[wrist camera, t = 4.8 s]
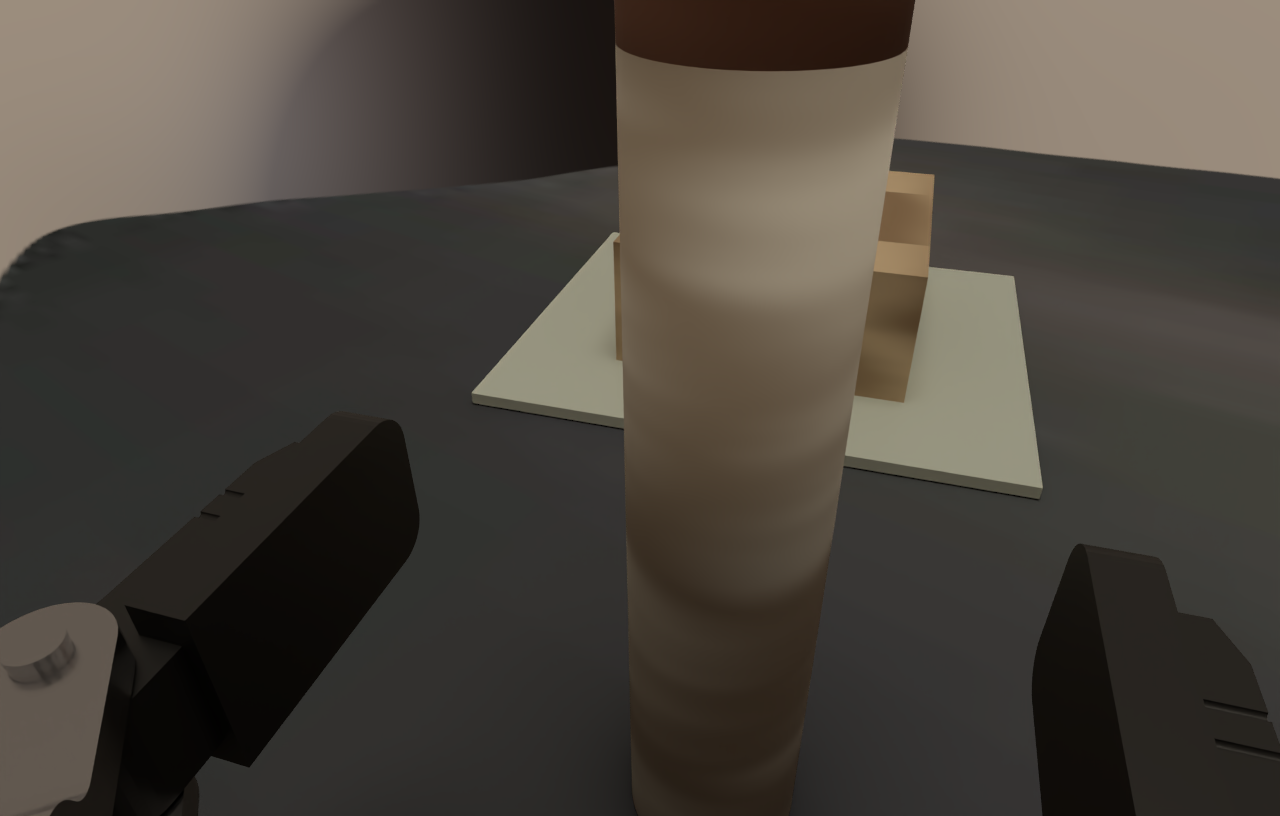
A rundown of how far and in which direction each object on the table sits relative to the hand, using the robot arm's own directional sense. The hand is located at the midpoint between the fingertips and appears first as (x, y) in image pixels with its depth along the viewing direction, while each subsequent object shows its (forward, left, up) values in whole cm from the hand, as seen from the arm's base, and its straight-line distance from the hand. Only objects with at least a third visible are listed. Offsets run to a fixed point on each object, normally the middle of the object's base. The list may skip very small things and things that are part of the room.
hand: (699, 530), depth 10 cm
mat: (+2, -22, -9) cm, 23 cm away
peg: (0, -3, -9) cm, 9 cm away
